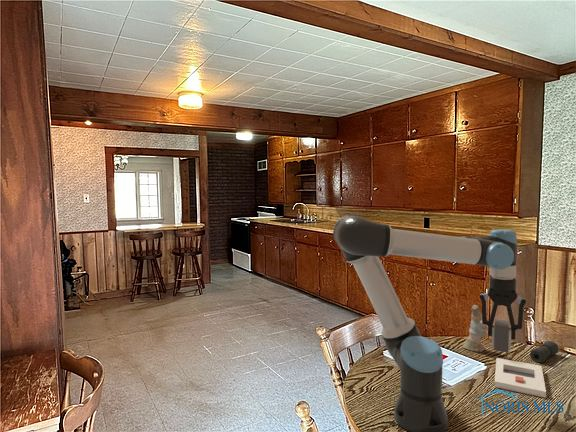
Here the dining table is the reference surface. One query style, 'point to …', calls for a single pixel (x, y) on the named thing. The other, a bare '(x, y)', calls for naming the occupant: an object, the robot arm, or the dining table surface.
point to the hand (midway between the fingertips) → (501, 347)
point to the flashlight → (544, 351)
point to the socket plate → (520, 377)
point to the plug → (501, 335)
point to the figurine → (476, 331)
